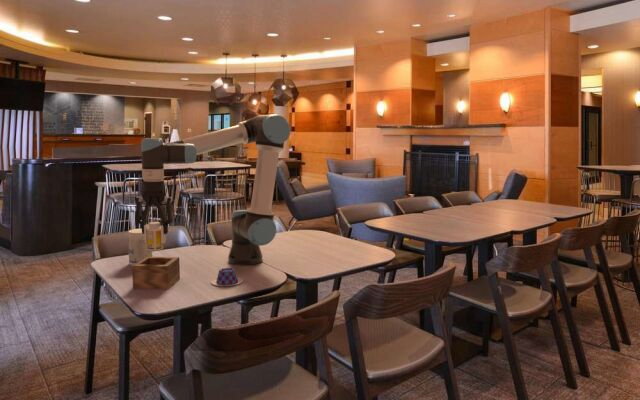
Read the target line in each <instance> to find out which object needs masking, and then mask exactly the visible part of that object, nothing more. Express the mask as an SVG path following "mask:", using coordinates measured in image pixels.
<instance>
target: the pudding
mask: <svg viewBox="0 0 640 400" xmlns="http://www.w3.org/2000/svg"><path fill="white" fill-rule="evenodd" d="M238 281H239V282H238ZM243 281H244V279H243V278H242V277H239V276H237V273H236V270H235V269H234V268H232V267H225V268H224V267H223V268H220V269H219V270H218V274H217V277H216V278H214V279H212V280H211V281H210V283H211V284H212V285H214V286H218V287H226V286H228V287H230V286H236V285H240V284H241V283H243Z"/></svg>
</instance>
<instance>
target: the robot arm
mask: <svg viewBox="0 0 640 400" xmlns="http://www.w3.org/2000/svg"><path fill="white" fill-rule="evenodd" d="M290 135H291V126H290V123H289V122H288V120H287V118H285V117H284V116H282V115H281V114H275V113H270V114H261V115H260V114H259V115H257V116H254V117H251V118H248V119H246V120H244V121H239V122H238V123H237V125H233V126H230V127H229V126H228V127H226V128H222V129H218V130H214V131H211V132H207V133H202V134H199V135H195V136H191V137H187V138H183V139H180V140H175V141H172V142H170V141H169V142H165V143H164V139H162V138H161V137H160V138H159V137H154V138H153V137H145V138H142V139H141V144H140V145H141V146H140V148H141V149H140V153H141V154H140V155H141V177H142V180H143V181H142V183H141V184H142V194H141V195H139V196H135V197H134V201H135V211H136V212H135V223H136V224H139V225H141V229H142V234H144V240H145V243H147V229H148V228H149V223H148V221H149V216H150V212H151V208H152V206H154V207H155V206H156V208H157V211H158V214H159V217H160V221H161V224H162V225H160V227H161V243H163V244H165V243H166V242H167V239H166V238H167V236H166V235H167V234H168V233H169V225H170V224H173V222H174V217H173V216H174V215H173V201H174V198H173V196H167V194H166V193H165V181H164V179H165V172H164V171H165V170H164V169H165V168H164V165H168V164H169V165H171V164H174V165H175V164H176V165H178V164H180V165H183V164H184V165H185V164H186V165H188V164H194V163H196V161H197V156H198V155H202V154H206V153H210V152H213V151H216V150H220V149H224V148H228V147H232V146H234V145H239V144H243V145H248V144H252V143H255V147H256V148H257V150H258V152H257V158H256V159H257V160H256V163H255V164H256V166H255V174H254V178H253V179H254V180H253V181H254V182H253V187H252V193H251V195H252V196H251V201H250V202H251V203H250V207H249V208H247V209H238V210H233V211H232V212H231V217H230V220H231V247H230V250H229V253H228V257H227V263H230V264H232V265H236V266H237V265H239V266H248V265H256V264H260V263H261V262H263V253H262V250H261V248H260V246H266V245H268V244H271V242H272V241H273V240H274V239H275V237H276V235H277V226H276V224H275V222H274V218H275V213H274V212H273V210H272V206H273V199H274V193H275V191H274V190H275V186H276V183H275V182H276V177H277V171H278V170H277V169H278V164H279V156H280V152H282V151H283V150H284V147H285V142H286V141H287V140H289V137H290ZM164 200H165V201H164ZM143 201H144V202H145V204H144V211H143ZM163 202H165V203H166V204H165V206H166V209H165V207H164V204H163ZM165 210H166V211H165Z"/></svg>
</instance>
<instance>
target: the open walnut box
mask: <svg viewBox="0 0 640 400" xmlns="http://www.w3.org/2000/svg"><path fill="white" fill-rule="evenodd" d="M180 271H181V270H180V256H152V257H145V258H143V259H142V260H140V261H138V262H137V263H135V264H134V265H131V272H132V275H131V277H132V289H145V290H146V289H150V290H151V289H154V290H169V289H170V288H171V287H172V286H174V284H175V283H176V282H178V281H179V279H180V278H181V273H180Z"/></svg>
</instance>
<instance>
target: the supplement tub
mask: <svg viewBox="0 0 640 400" xmlns="http://www.w3.org/2000/svg"><path fill="white" fill-rule="evenodd" d="M127 236H128V237H127V240H128V242H127V243H128V247H127V248H128V263H129V265H130V266H132V265H134V264H135V263H137V262H138V261H140V260H142V259H143V258H145V257H153V251H150V250H148V243H145V240H144V234H142V228H135V229H133V228H132V229H129V230H128V234H127Z"/></svg>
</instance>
